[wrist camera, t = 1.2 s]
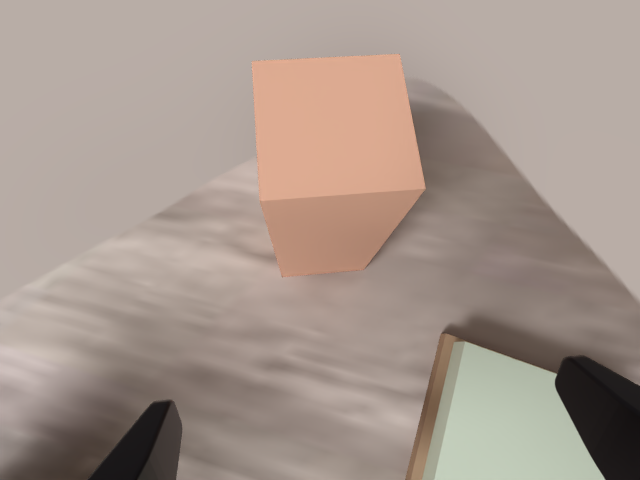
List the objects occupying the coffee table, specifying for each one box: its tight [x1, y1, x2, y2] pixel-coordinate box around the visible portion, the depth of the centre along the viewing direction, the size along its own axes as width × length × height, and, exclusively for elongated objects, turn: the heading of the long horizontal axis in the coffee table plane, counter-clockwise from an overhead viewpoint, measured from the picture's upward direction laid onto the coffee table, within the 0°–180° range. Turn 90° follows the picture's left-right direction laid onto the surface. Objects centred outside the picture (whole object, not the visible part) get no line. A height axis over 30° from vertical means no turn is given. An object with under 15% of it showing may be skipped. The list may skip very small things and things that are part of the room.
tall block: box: [252, 54, 426, 277], centre depth 17 cm, size 5×5×12 cm
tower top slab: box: [422, 342, 605, 480], centre depth 19 cm, size 9×9×2 cm
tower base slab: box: [405, 333, 557, 480], centre depth 20 cm, size 10×10×2 cm
